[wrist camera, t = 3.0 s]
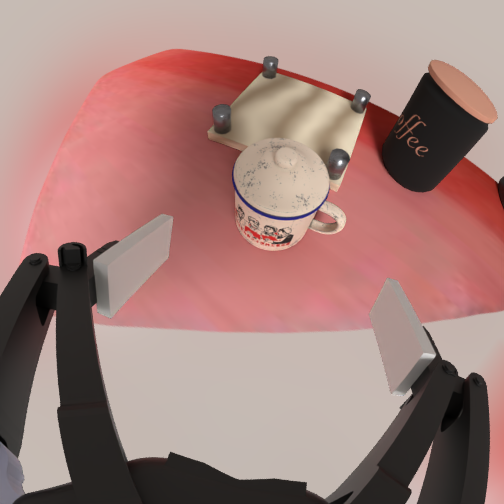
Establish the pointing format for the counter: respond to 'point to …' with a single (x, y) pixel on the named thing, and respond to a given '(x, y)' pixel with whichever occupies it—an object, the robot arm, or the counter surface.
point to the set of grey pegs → (337, 156)
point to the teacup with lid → (281, 194)
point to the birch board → (292, 118)
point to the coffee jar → (436, 128)
